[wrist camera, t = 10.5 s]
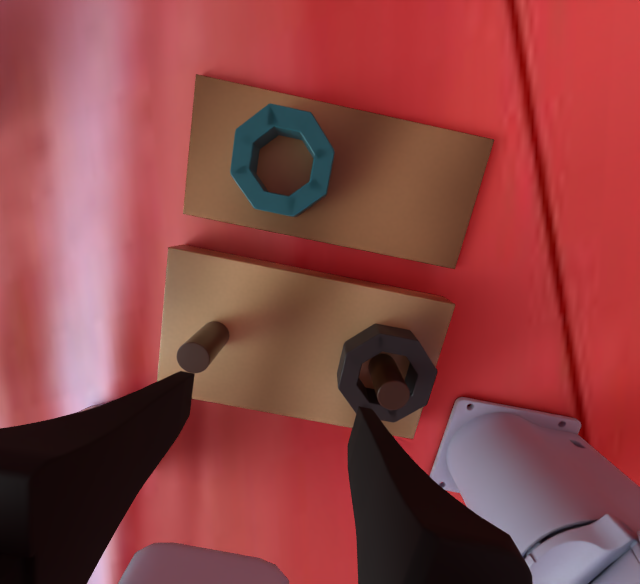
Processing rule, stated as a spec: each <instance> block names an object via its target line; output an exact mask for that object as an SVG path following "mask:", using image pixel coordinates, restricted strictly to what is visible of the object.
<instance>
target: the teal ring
mask: <svg viewBox="0 0 640 584" xmlns="http://www.w3.org/2000/svg"><path fill="white" fill-rule="evenodd" d="M278 135H280V136H285V137H290V138H294V139H299V140H302V141H303V143H304V144H305V146H306V147H307V149H308V151H309V152H310V154H311V155H312V157H313V164H312V170H311V175H310V181H309V182H308V183H307V184H305V185H304V186H302V187H301V188H300V189H298V190H297V191H295V192H294V193H293V194H291V195H290V196H286V195H282V194H277V193H272V192H268V190H267V189H266V187H265V186H264V184H263V183H262V181H261V180H260V178H259V177H258V175H257V174H256V172H257V165H258V158H259V151H260V149H261V148H262V147H264V146H265V145H266V144H268V143H269V142H270V141H272V140H273V139H274V138H276V137H277V136H278ZM334 154H335V151H334V148H333V147H332V145H331V143H330V142H329V140H328V138H327V137H326V135H325V134H324V132H323V130H322V129H321V127H320V125H319V124H318V122H317V120H316V119H315V117H314V115H313V114H312V113H311V112H308V111H304V110H299V109H294V108H290V107H285V106H281V105H276V104H271V103H270V104H268V105H266V106H265V107H264V108H262V109H261V110H260V111H259V112H257V113H256V114H255V115H253V116H252V117H251V118H249V119H248V120H247V121H246V122H244V123H243V124H242V125H240V126H239V127H238V128H236V131H235V136H234V144H233V152H232V160H231V168H230V173H231V176H232V177H233V179H234V180H235V182H236V183H237V185H238V186H239V188H240V189H241V191H242V192H243V193H244V195H245V196H246V198H247V199H248V201H249V202H250V204H251V205H252V206H253V208H254V209H257V210H262V211H267V212H272V213H276V214H281V215H286V216H291V217H297V216H298V215H300V214H301V213H303V212H304V211H306V210H307V209H308V208H310V207H311V206H313V205H314V204H316V203H317V202H319V201H320V200H321V199H323V198H324V197H326V195H327V191H328V186H329V180H330V175H331V170H332V165H333V160H334Z"/></svg>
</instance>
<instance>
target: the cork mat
mask: <svg viewBox="0 0 640 584" xmlns="http://www.w3.org/2000/svg"><path fill="white" fill-rule="evenodd" d="M270 103H271V104H276V105H281V106H285V107H290V108H294V109H299V110H304V111H308V112H311V113H312V114H313V115H314V117H315V119H316V120H317V122H318V124H319V125H320V127H321V129H322V130H323V132H324V134H325V135H326V137H327V138H328V140H329V142H330V143H331V145H332V147H333V148H334V151H335V154H334V160H333V165H332V170H331V175H330V180H329V186H328V191H327V195H326V197H324V198H323V199H321V200H320V201H319V202H317V203H316V204H314V205H313V206H311V207H310V208H308V209H307V210H306V211H304V212H303V213H301V214H300V215H298V216H297V217H291V216H286V215H281V214H276V213H272V212H267V211H262V210H257V209H254V208H253V206H252V205H251V204H250V202H249V201H248V199H247V198H246V196H245V195H244V193H243V192H242V191H241V189H240V188H239V186H238V185H237V183H236V182H235V180H234V179H233V177H232V176H231V173H230V168H231V160H232V152H233V144H234V136H235V131H236V128H238V127H239V126H240V125H242V124H243V123H244V122H246V121H247V120H248V119H249V118H251V117H252V116H253V115H255V114H256V113H257V112H259V111H260V110H261V109H262V108H264V107H265V106H266V105H268V104H270ZM493 142H494V139H489V138H485V137H480V136H476V135H471V134H466V133H462V132H457V131H453V130H448V129H444V128H439V127H434V126H430V125H425V124H421V123H416V122H412V121H407V120H403V119H398V118H393V117H389V116H384V115H380V114H375V113H371V112H366V111H362V110H357V109H352V108H348V107H343V106H339V105H334V104H330V103H325V102H321V101H316V100H311V99H307V98H302V97H298V96H293V95H289V94H284V93H280V92H275V91H270V90H266V89H261V88H257V87H252V86H248V85H243V84H239V83H234V82H229V81H225V80H220V79H216V78H211V77H207V76H202V75H197V74H196V81H195V92H194V103H193V113H192V124H191V135H190V146H189V156H188V167H187V178H186V189H185V200H184V210H183V214H187V215H192V216H197V217H202V218H207V219H212V220H216V221H221V222H226V223H231V224H236V225H241V226H246V227H251V228H256V229H261V230H266V231H270V232H275V233H280V234H285V235H290V236H295V237H300V238H305V239H310V240H315V241H320V242H325V243H329V244H334V245H339V246H344V247H349V248H354V249H359V250H364V251H369V252H374V253H379V254H383V255H388V256H393V257H398V258H403V259H408V260H413V261H418V262H423V263H428V264H433V265H437V266H442V267H447V268H452V269H455V266H456V263H457V260H458V256H459V253H460V250H461V247H462V243H463V240H464V237H465V234H466V230H467V227H468V224H469V221H470V217H471V214H472V211H473V208H474V204H475V201H476V198H477V194H478V191H479V188H480V185H481V181H482V178H483V175H484V172H485V168H486V165H487V162H488V159H489V155H490V152H491V149H492V146H493ZM312 164H313V157H312V155H311V154H310V152H309V151H308V149H307V147H306V146H305V144H304V143H303V141H302V140H299V139H294V138H290V137H285V136H280V135H278V136H277V137H276V138H274V139H273V140H272V141H270V142H269V143H268V144H266V145H265V146H264V147H262V148H261V149H260V151H259V158H258V165H257V172H256V174H257V175H258V177H259V178H260V180H261V181H262V183H263V184H264V186H265V187H266V189H267V190H268V192H272V193H277V194H282V195H286V196H290V195H291V194H293V193H294V192H295V191H297V190H298V189H300V188H301V187H302V186H304V185H305V184H307V183H308V182H309V181H310V175H311V170H312Z"/></svg>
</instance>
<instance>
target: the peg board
mask: <svg viewBox="0 0 640 584" xmlns="http://www.w3.org/2000/svg"><path fill="white" fill-rule="evenodd" d="M454 308H455V304H454V303H452V302H451V301H449V300H448V299H446V298H445V297H443V296H438V295H433V294H428V293H423V292H418V291H413V290H408V289H403V288H398V287H393V286H388V285H383V284H378V283H373V282H368V281H363V280H358V279H353V278H348V277H343V276H338V275H333V274H328V273H323V272H318V271H313V270H308V269H303V268H298V267H293V266H288V265H283V264H278V263H273V262H268V261H263V260H258V259H253V258H248V257H243V256H238V255H233V254H228V253H223V252H218V251H213V250H208V249H203V248H198V247H193V246H188V245H178V246H173V247H169V248H168V258H167V270H166V282H165V294H164V306H163V318H162V329H161V341H160V353H159V365H158V377H157V382H158V381H160V380H162V379H164V378H166V377H168V376H170V375H172V374H175V373H177V372H179V371H183V372H188V373H194V374H195V376H194V384H193V392H192V399H197V400H202V401H208V402H213V403H219V404H224V405H230V406H235V407H241V408H246V409H252V410H257V411H263V412H268V413H273V414H279V415H284V416H290V417H295V418H301V419H306V420H312V421H317V422H323V423H328V424H333V425H339V426H344V427H350V428H353V425H354V421H355V417H356V413H355V411H354V410H353V409H352V407H351V406H350V404H349V403H348V402H347V400H346V399H345V397H344V396H343V395H342V393H341V392H340V391H339V389H338V382H337V370H338V366H339V362H340V357H341V353H342V349H343V345H344V343H345V341H347V340H349V339H350V338H352V337H354V336H355V335H357V334H358V333H360V332H362V331H363V330H365V329H367V328H368V327H370V326H372V325H373V324H375V323H376V324H381V325H387V326H392V327H397V328H402V329H407V330H410V331H411V332H412V333H413V334H414V335H415V337H416V338H417V339H418V341H419V342H420V344H421V345H422V347H423V348H424V350H425V351H426V353H427V355H428V356H429V358H430V359H431V361H432V363H433V364H434V366H435V367H436V365H437V361H438V358H439V355H440V352H441V349H442V346H443V342H444V339H445V336H446V333H447V330H448V327H449V323H450V320H451V317H452V314H453V311H454ZM409 364H410V362H409V360H408V358H407V357H406V356H403V355H397V354H392V353H387V352H381V353H379V354H378V355H376V356H374V357H373V358H371V359H369V360H367V361H366V362H364V363H362V366H361V370H360V374H359V379H360V380H361V382H362V383H363V384H364V386H365V387H366V388H371V389H375V393H376V396H377V400H378V402H379V403H380V405H381V406H383V407H384V408H386V409H389V410H397V409H400V408H402V407H404V406H405V405H406V404H407V402H408V401H409V398H410V391H409V388H408V386H407V384H406V382H405V378H406V374H407V371H408V367H409ZM422 409H423V407H422V408H420V409H418V410H417V411H415V412H413V413H411V414H409V415H408V416H406V417H404V418H402V419H400V420H399V421H397V422H394V423H393V422H387V421H382V420H381V421H382V423H383V424H384V425H385V427H386V428H387V429H388V431H389V432H390V433H391V435H394V436H399V437H404V438H410V439H413V437H414V434H415V431H416V428H417V425H418V422H419V418H420V415H421V412H422Z"/></svg>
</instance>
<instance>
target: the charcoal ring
mask: <svg viewBox="0 0 640 584" xmlns="http://www.w3.org/2000/svg"><path fill="white" fill-rule="evenodd" d="M381 352H387V353H392V354H397V355H403V356H406V357H407V358H408V360H409V362H410V364H409V367H408V371H407V374H406V378H405V382H406V384H407V386H408V388H409V391H410V398H409V401H408V402H407V404H406V405H405V406H404V407H402V408H400V409H397V410H389V409H386V408H384V407H383V406H381V405H380V403H379V402H378V400H377V396H376V393H375V389H371V388H366V387H365V386H364V384H363V383H362V382H361V380H360V379H359V374H360V370H361V366H362V363H364V362H366V361H367V360H369V359H371V358H373V357H374V356H376V355H378V354H379V353H381ZM436 375H437V369H436V367H435V366H434V364H433V363H432V361H431V359H430V358H429V356H428V355H427V353H426V351H425V350H424V348H423V347H422V345H421V344H420V342H419V341H418V339H417V338H416V337H415V335H414V334H413V333H412V332H411V331H410V330H407V329H402V328H397V327H392V326H387V325H381V324H376V323H375V324H373V325H372V326H370V327H368V328H367V329H365V330H363V331H362V332H360V333H358V334H357V335H355V336H354V337H352V338H350V339H349V340H347V341H345V343H344V345H343V349H342V353H341V357H340V362H339V366H338V370H337V382H338V389H339V391H340V392H341V393H342V395H343V396H344V397H345V399H346V400H347V402H348V403H349V404H350V406H351V407H352V409H353V410H354V411H355V413H357V410H358V406H360V407H365V408H370V409H373V411H374V412H375V413H376V415H377V416H378V417H379V419H380V420H382V421H387V422H393V423H394V422H397V421H399V420H400V419H402V418H404V417H406V416H408V415H409V414H411V413H413V412H415V411H417V410H418V409H420V408H422V407H424V406H426V405H427V403H428V400H429V397H430V394H431V390H432V387H433V384H434V381H435V378H436Z"/></svg>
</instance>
